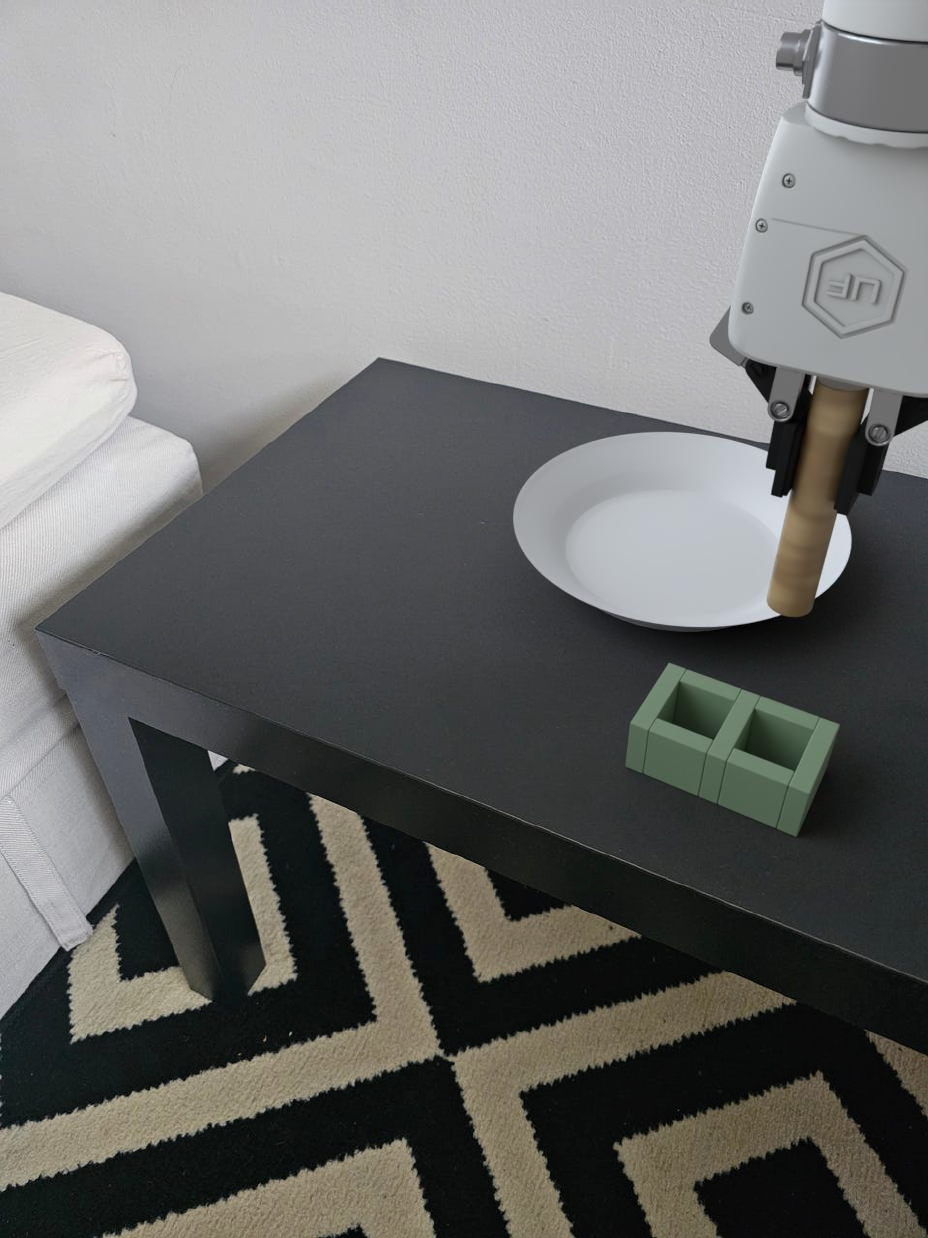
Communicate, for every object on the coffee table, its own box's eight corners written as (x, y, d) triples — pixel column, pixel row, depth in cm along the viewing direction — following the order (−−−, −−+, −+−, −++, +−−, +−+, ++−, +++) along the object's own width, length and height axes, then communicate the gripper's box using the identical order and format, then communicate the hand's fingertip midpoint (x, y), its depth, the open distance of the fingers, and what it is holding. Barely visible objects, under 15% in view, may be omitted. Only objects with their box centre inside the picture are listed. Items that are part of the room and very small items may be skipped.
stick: (817, 598, 54) (877, 374, 46) (805, 623, 53) (864, 396, 44) (773, 584, 55) (824, 363, 47) (760, 608, 53) (810, 384, 45)
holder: (826, 768, 62) (840, 724, 59) (796, 837, 58) (810, 793, 56) (662, 706, 66) (669, 662, 64) (625, 766, 63) (629, 722, 60)
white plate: (882, 523, 81) (893, 485, 78) (769, 716, 65) (779, 676, 63) (604, 440, 92) (607, 405, 89) (451, 589, 76) (449, 551, 74)
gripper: (673, 79, 38) (634, 485, 50) (1152, 131, 32) (975, 584, 44) (741, 38, 43) (691, 418, 55) (1170, 76, 36) (1006, 498, 49)
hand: (817, 489), depth 49 cm, fingers closed on stick, 2 cm apart
